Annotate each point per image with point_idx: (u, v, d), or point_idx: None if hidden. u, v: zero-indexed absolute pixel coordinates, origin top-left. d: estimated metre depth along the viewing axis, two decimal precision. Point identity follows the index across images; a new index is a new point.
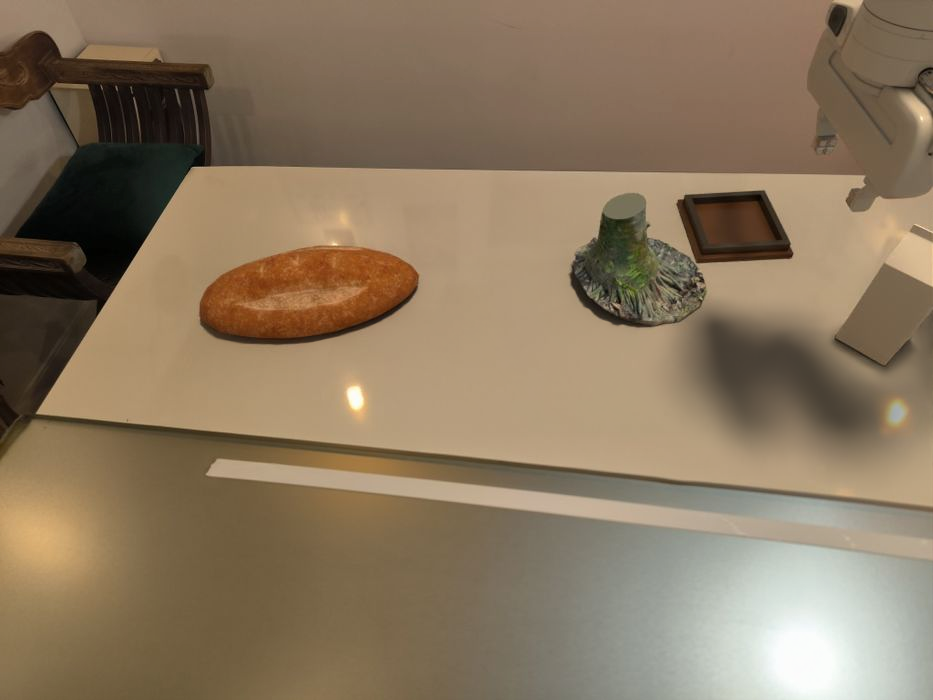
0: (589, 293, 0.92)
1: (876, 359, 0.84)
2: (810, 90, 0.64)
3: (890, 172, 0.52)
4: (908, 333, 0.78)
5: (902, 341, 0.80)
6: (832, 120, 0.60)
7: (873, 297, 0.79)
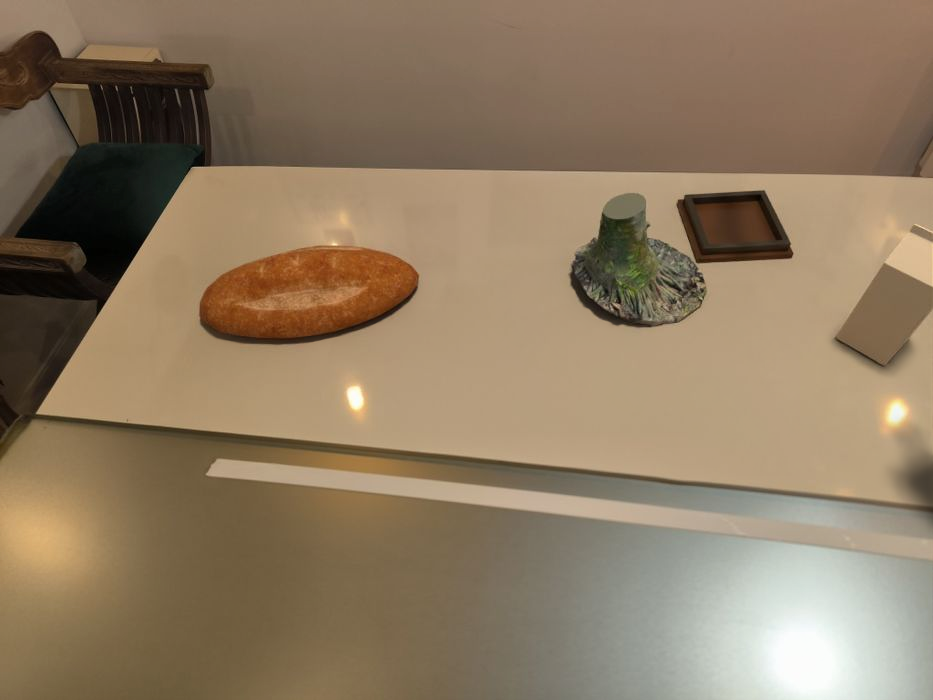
0: (589, 293, 0.92)
1: (876, 359, 0.84)
2: None
3: None
4: (908, 333, 0.78)
5: (902, 341, 0.80)
6: None
7: (873, 297, 0.79)
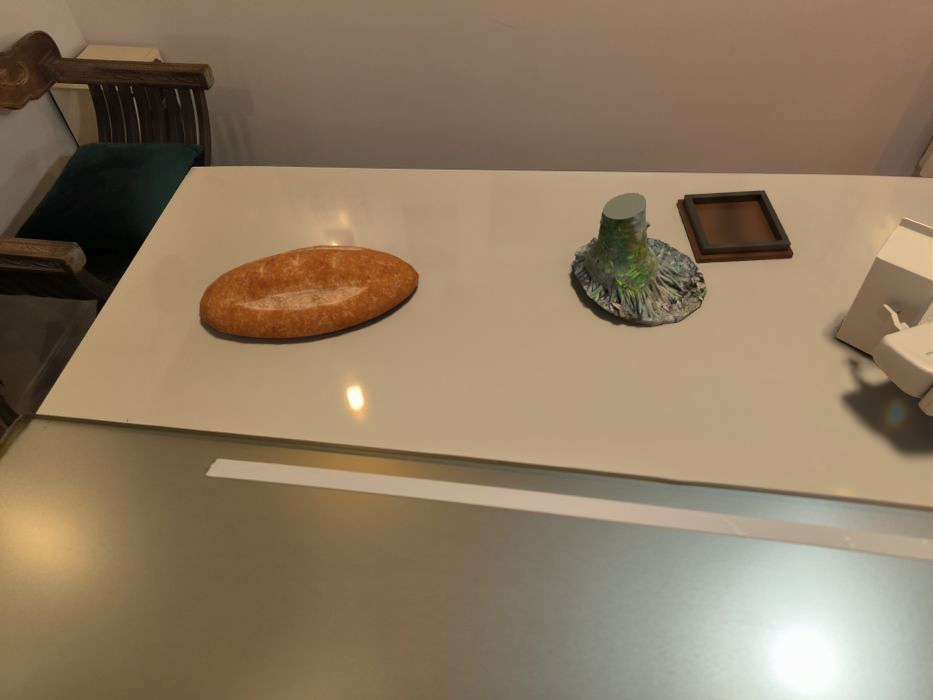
0: (589, 293, 0.92)
1: None
2: None
3: None
4: None
5: None
6: None
7: (869, 293, 0.79)
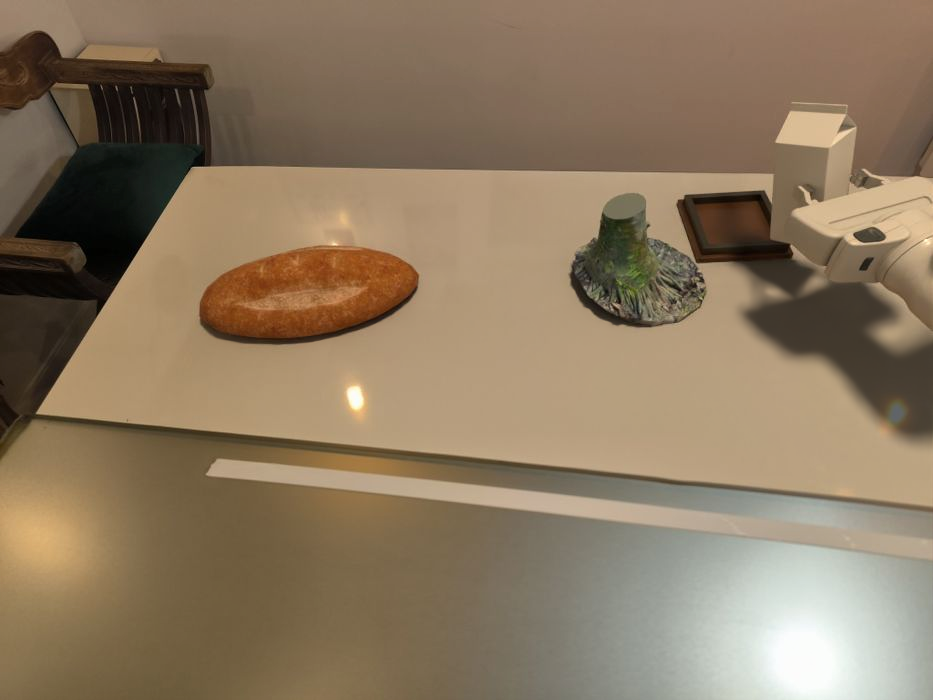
0: (589, 293, 0.92)
1: None
2: None
3: None
4: None
5: None
6: None
7: (781, 181, 0.84)
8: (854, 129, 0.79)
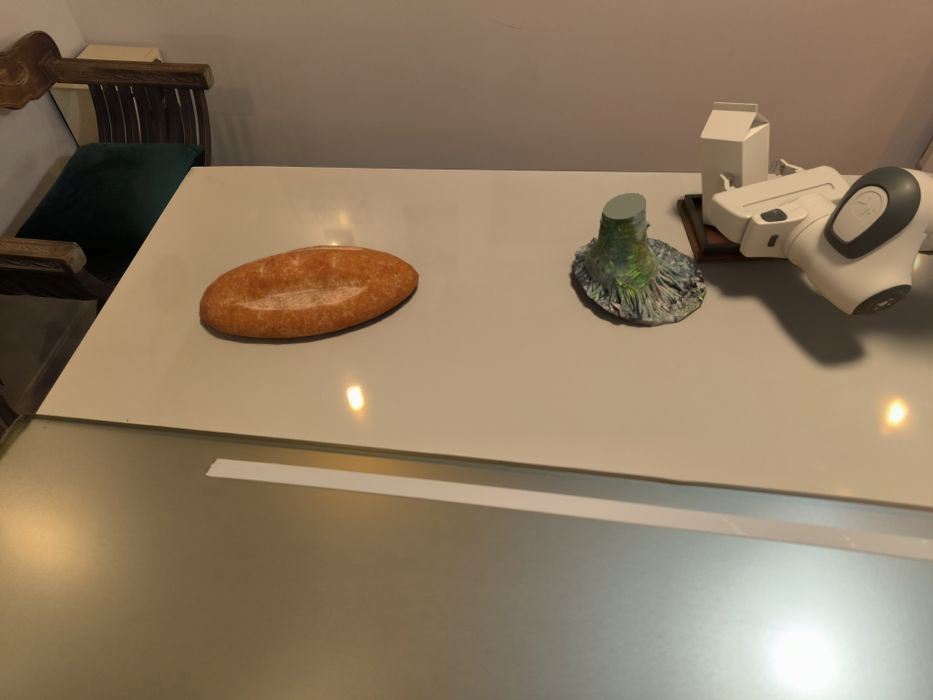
0: (589, 293, 0.92)
1: None
2: None
3: None
4: None
5: None
6: None
7: (707, 171, 0.96)
8: (767, 125, 0.91)
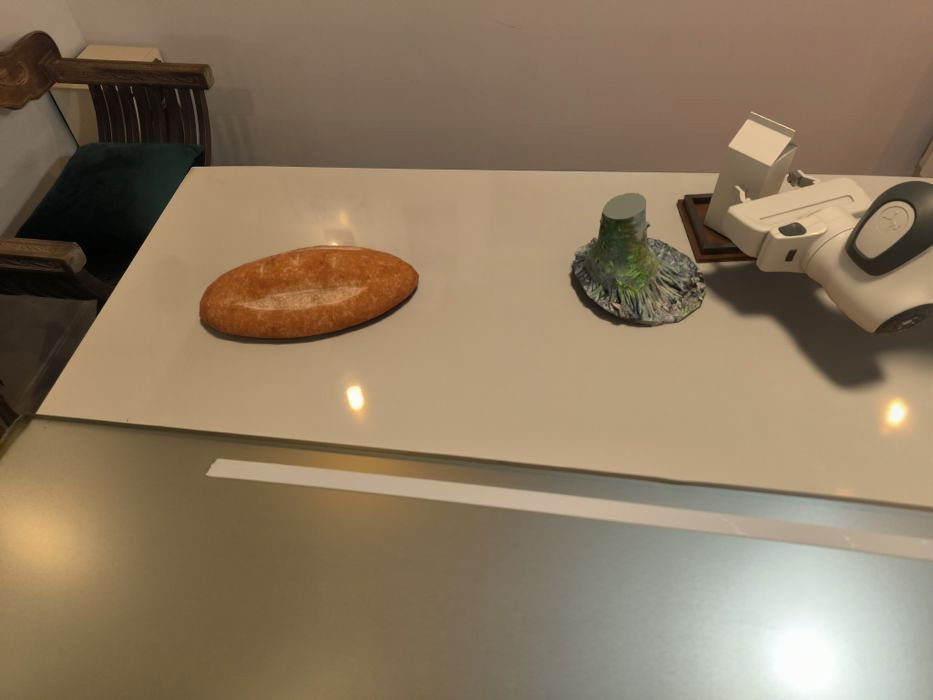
0: (589, 293, 0.92)
1: None
2: None
3: None
4: None
5: None
6: None
7: (724, 180, 0.94)
8: (795, 148, 0.89)
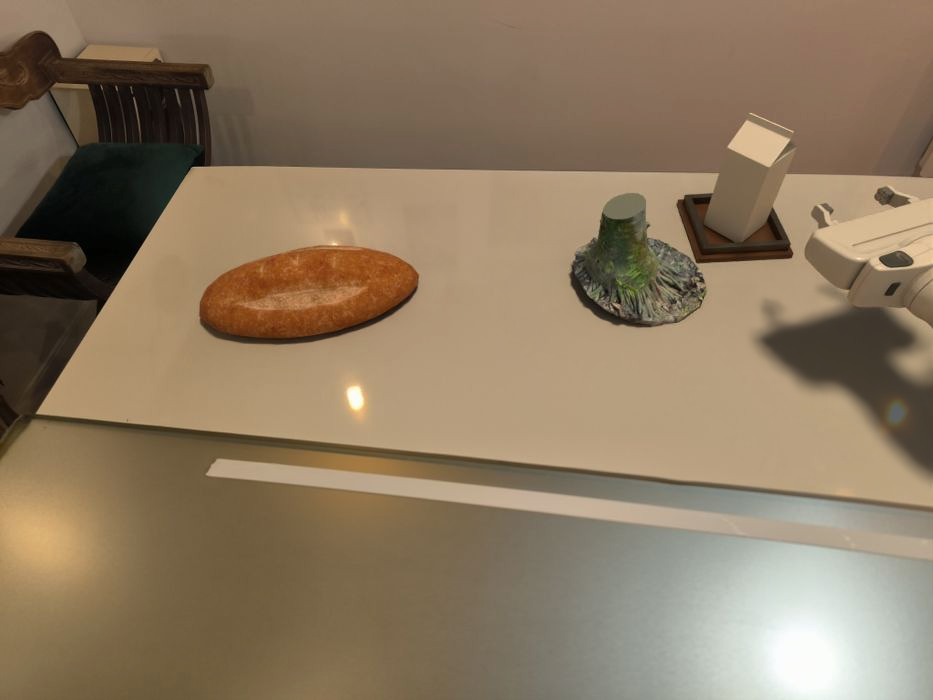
0: (589, 293, 0.92)
1: (733, 239, 0.99)
2: None
3: None
4: (751, 210, 0.93)
5: (748, 219, 0.94)
6: None
7: (724, 181, 0.94)
8: (794, 149, 0.89)
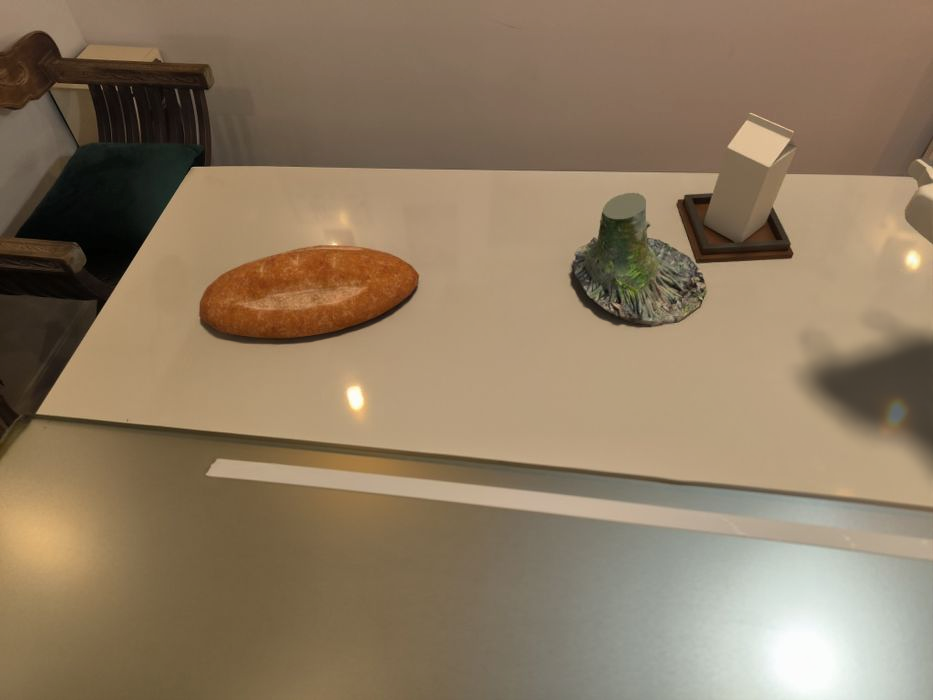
0: (589, 293, 0.92)
1: (733, 239, 0.99)
2: None
3: None
4: (751, 210, 0.93)
5: (748, 219, 0.94)
6: None
7: (724, 181, 0.94)
8: (794, 149, 0.89)
